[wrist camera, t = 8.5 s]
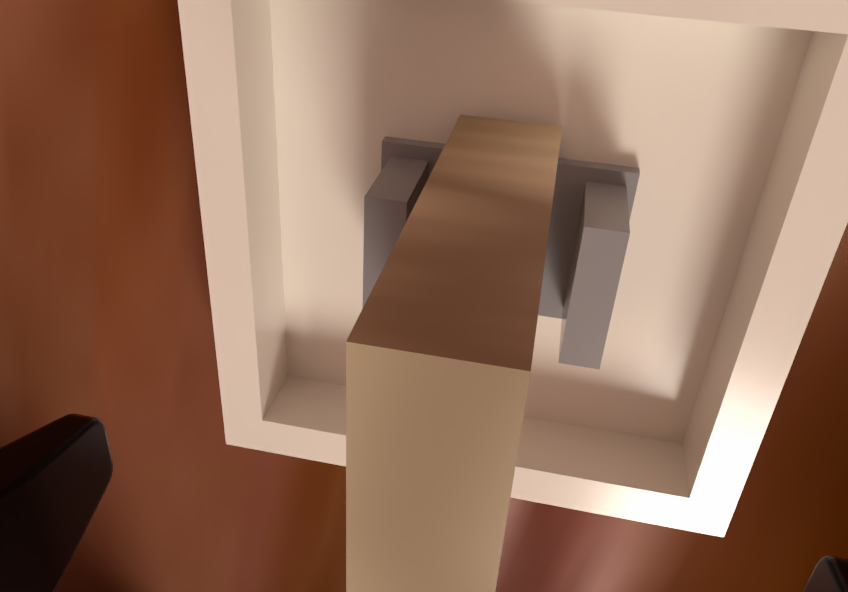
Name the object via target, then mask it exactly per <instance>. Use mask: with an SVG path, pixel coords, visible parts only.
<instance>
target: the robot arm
mask: <svg viewBox="0 0 848 592" xmlns="http://www.w3.org/2000/svg"><path fill="white" fill-rule="evenodd" d="M112 471H113V461H112V457H111V452H110V448H109V443H108V439H107V434H106V430H105V426H104V424H103V422H102V421H101V420H100V419H98V418H95V417H89V416H84V415H79V414H69V415H66V416H64V417H61V418H59V419H57V420H55V421H53V422H51V423H49V424H47V425H45V426H43V427H41V428H39V429H37V430H35V431H33V432H31V433H29V434H27V435H25V436H23V437H21V438H19V439H17V440H15V441H13V442H11V443H9V444H7V445H5V446H3V447H1V448H0V592H54V590H55V588H56V587H57V585H58V583H59V581H60V579H61V578H62V576H63V574H64V572H65V570H66V568H67V566H68V564H69V562H70V560H71V558H72V556H73V554H74V552H75V550H76V548H77V546H78V544H79V542H80V540H81V538H82V536H83V534H84V532H85V530H86V528H87V526H88V524H89V522H90V520H91V518H92V516H93V514H94V512H95V510H96V508H97V506H98V504H99V502H100V500H101V498H102V496H103V494H104V492H105V490H106V488H107V486H108V484H109V481H110V479H111V476H112ZM803 592H848V559H844V558H839V557H833V556H824V557H822V558H821V559H820V560H819V562H818V563H817V565H816V567H815V569H814V571H813V573H812V575H811V577H810V579H809V581H808V583H807V585H806V587H805V589H804V591H803Z"/></svg>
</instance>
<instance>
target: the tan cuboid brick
mask: <svg viewBox="0 0 848 592" xmlns="http://www.w3.org/2000/svg"><path fill="white" fill-rule="evenodd" d="M561 133H562V126H554V125H545V124H536V123H528V122H519V121H511V120H502V119H493V118H485V117H476V116H468V115H460V116H459V118H458V120H457V122H456V124H455V126H454V128H453V130H452V132H451V134H450V136H449V138H448V140H447V142H446V144H445V146H444V148H443V150H442V152H441V154H440V156H439V158H438V160H437V162H436V164H435V166H434V168H433V170H432V172H431V174H430V176H429V178H428V180H427V182H426V184H425V186H424V188H423V190H422V192H421V194H420V196H419V198H418V200H417V202H416V204H415V206H414V208H413V210H412V212H411V214H410V216H409V218H408V220H407V222H406V224H405V226H404V228H403V229H402V231H401V233H400V235H399V237H398V239H397V241H396V243H395V245H394V247H393V249H392V251H391V253H390V255H389V257H388V259H387V261H386V263H385V265H384V267H383V269H382V271H381V273H380V275H379V277H378V279H377V281H376V283H375V285H374V287H373V289H372V291H371V293H370V295H369V297H368V299H367V301H366V303H365V305H364V307H363V309H362V311H361V313H360V315H359V317H358V319H357V321H356V323H355V325H354V327H353V329H352V331H351V333H350V335H349V337H348V339H347V341H346V592H495V590H496V584H497V578H498V572H499V565H500V559H501V553H502V547H503V540H504V534H505V528H506V522H507V516H508V509H509V503H510V497H511V491H512V485H513V478H514V472H515V466H516V460H517V454H518V447H519V441H520V435H521V429H522V423H523V416H524V410H525V404H526V398H527V392H528V385H529V379H530V373H531V365H532V358H533V350H534V342H535V334H536V327H537V319H538V311H539V303H540V296H541V288H542V280H543V272H544V265H545V257H546V249H547V241H548V233H549V226H550V218H551V210H552V202H553V195H554V187H555V179H556V171H557V164H558V156H559V148H560V140H561Z"/></svg>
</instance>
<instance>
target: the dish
mask: <svg viewBox="0 0 848 592" xmlns="http://www.w3.org/2000/svg"><path fill="white" fill-rule="evenodd" d="M178 8H179V17H180V27H181V36H182V45H183V54H184V63H185V72H186V81H187V91H188V100H189V109H190V118H191V127H192V136H193V145H194V155H195V164H196V173H197V182H198V191H199V200H200V209H201V219H202V228H203V237H204V246H205V255H206V264H207V273H208V283H209V292H210V301H211V310H212V319H213V328H214V337H215V347H216V356H217V365H218V374H219V383H220V392H221V402H222V411H223V420H224V429H225V438H226V444H229V445H235V446H240V447H245V448H251V449H256V450H261V451H266V452H272V453H277V454H282V455H288V456H293V457H298V458H304V459H309V460H314V461H320V462H325V463H330V464H336V465H341V466H346V341H347V339H348V337H349V335H350V333H351V331H352V329H353V327H354V325H355V323H356V321H357V319H358V317H359V315H360V313H361V311H362V309H363V307H364V305H365V303H366V301H367V299H368V297H369V295H370V293H371V291H372V289H373V287H374V285H375V283H376V281H377V279H378V277H379V275H380V273H381V271H382V269H383V267H384V265H385V263H386V261H387V259H388V257H389V255H390V253H391V251H392V249H393V247H394V245H395V243H396V241H397V239H398V237H399V235H400V233H401V231H402V229H403V228H404V226H405V224H406V222H407V220H408V218H409V216H410V214H411V212H412V210H413V208H414V206H415V204H416V202H417V200H418V198H419V196H420V194H421V192H422V190H423V188H424V186H425V184H426V182H427V180H428V178H429V176H430V174H431V172H432V170H433V168H434V166H435V164H436V162H437V160H438V158H439V156H440V154H441V152H442V150H443V148H444V146H445V144H446V142H447V140H448V138H449V136H450V134H451V132H452V130H453V128H454V126H455V124H456V122H457V120H458V118H459V116H460V115H468V116H476V117H485V118H493V119H502V120H511V121H519V122H528V123H536V124H545V125H554V126H562V133H561V140H560V148H559V156H558V164H557V171H556V179H555V187H554V195H553V202H552V210H551V218H550V226H549V233H548V241H547V249H546V257H545V265H544V272H543V280H542V288H541V296H540V303H539V311H538V319H537V327H536V334H535V342H534V350H533V358H532V365H531V373H530V379H529V385H528V392H527V398H526V404H525V410H524V416H523V423H522V429H521V435H520V441H519V447H518V454H517V460H516V466H515V472H514V478H513V485H512V491H511V498H517V499H522V500H527V501H533V502H538V503H543V504H549V505H554V506H559V507H565V508H570V509H575V510H580V511H586V512H591V513H596V514H602V515H607V516H612V517H618V518H623V519H628V520H634V521H639V522H644V523H650V524H655V525H660V526H666V527H671V528H676V529H682V530H687V531H692V532H698V533H703V534H708V535H714V536H719V537H724V536H725V533H726V531H727V528H728V526H729V523H730V520H731V518H732V515H733V513H734V510H735V508H736V505H737V503H738V500H739V498H740V495H741V492H742V490H743V487H744V485H745V482H746V480H747V477H748V475H749V472H750V469H751V467H752V464H753V462H754V459H755V457H756V454H757V452H758V449H759V447H760V444H761V441H762V439H763V436H764V434H765V431H766V429H767V426H768V424H769V421H770V419H771V416H772V413H773V411H774V408H775V406H776V403H777V401H778V398H779V396H780V393H781V390H782V388H783V385H784V383H785V380H786V378H787V375H788V373H789V370H790V368H791V365H792V362H793V360H794V357H795V355H796V352H797V350H798V347H799V345H800V342H801V340H802V337H803V334H804V332H805V329H806V327H807V324H808V322H809V319H810V317H811V314H812V311H813V309H814V306H815V304H816V301H817V299H818V296H819V294H820V291H821V289H822V286H823V283H824V281H825V278H826V276H827V273H828V271H829V268H830V266H831V263H832V261H833V258H834V255H835V253H836V250H837V248H838V245H839V243H840V240H841V238H842V235H843V232H844V230H845V227H846V225H847V222H848V0H178Z"/></svg>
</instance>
